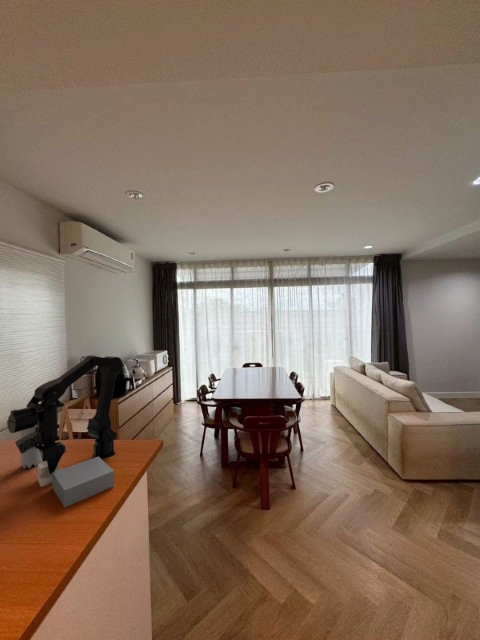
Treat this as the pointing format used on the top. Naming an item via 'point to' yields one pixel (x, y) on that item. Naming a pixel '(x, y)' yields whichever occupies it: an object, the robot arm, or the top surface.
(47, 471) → the cream block
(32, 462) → the bottle
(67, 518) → the top surface
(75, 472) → the plinth
